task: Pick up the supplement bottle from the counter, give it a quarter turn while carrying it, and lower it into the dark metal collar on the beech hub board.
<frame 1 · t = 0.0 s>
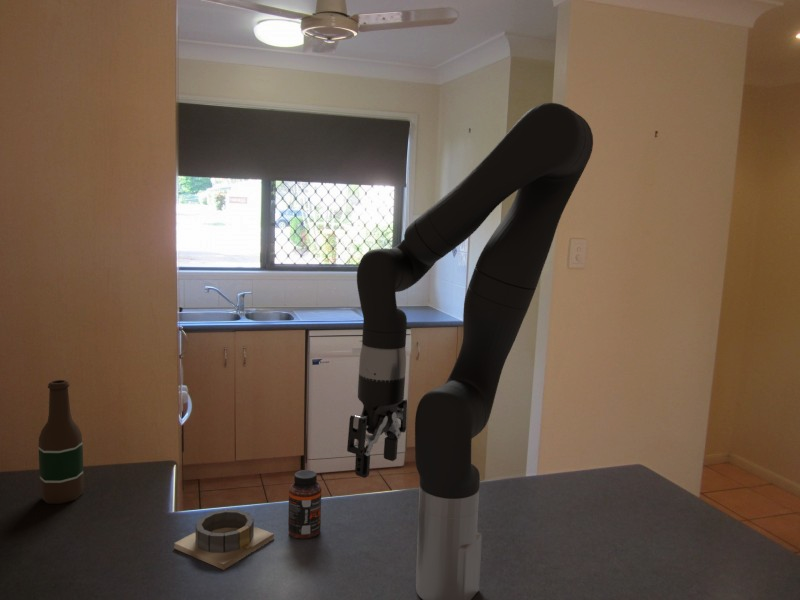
hand: (376, 467, 101), 17 cm above the worktop, tool pointing down, fingers open, 8 cm apart
supplement bottle: (304, 533, 113), on the worktop
hub: (225, 543, 108), on the worktop
beer bottle: (62, 497, 125), on the worktop
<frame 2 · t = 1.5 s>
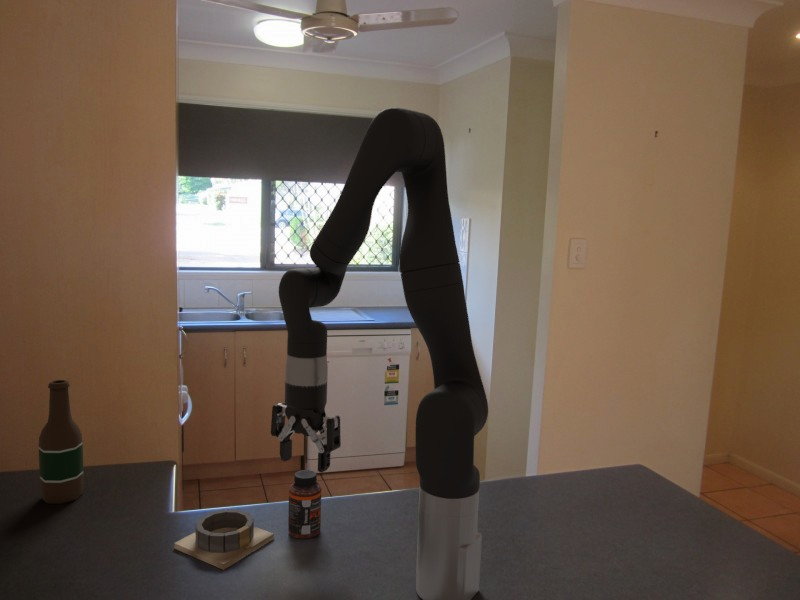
hand: (304, 465, 112), 13 cm above the worktop, tool pointing down, fingers open, 8 cm apart
nothing on the worktop moved.
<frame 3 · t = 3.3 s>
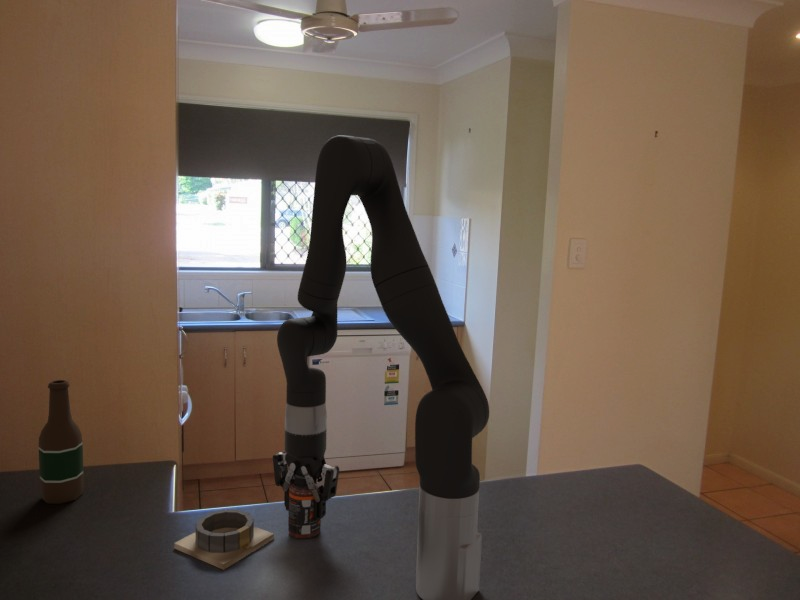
hand: (304, 513, 113), 4 cm above the worktop, tool pointing down, fingers closed on supplement bottle, 6 cm apart
supplement bottle: (304, 533, 113), on the worktop, touching gripper
everything else where it was.
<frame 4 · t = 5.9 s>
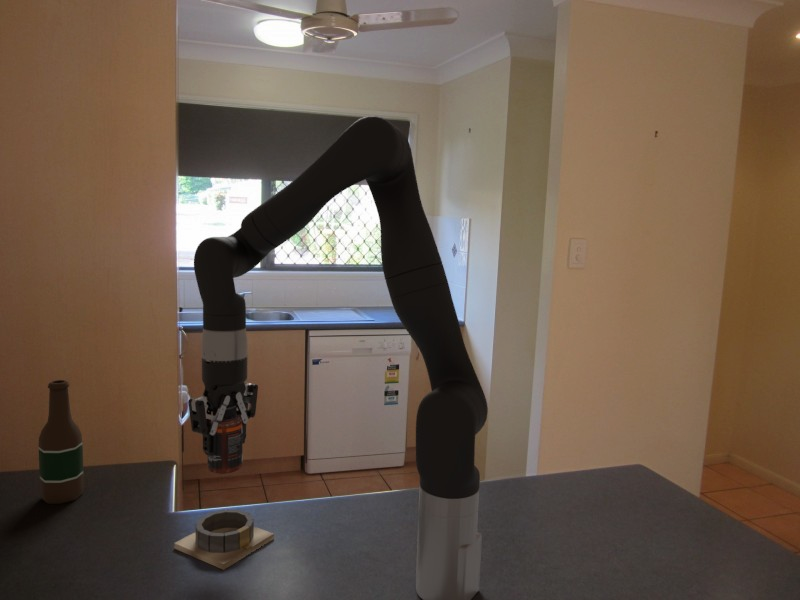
hand: (225, 448, 106), 17 cm above the worktop, tool pointing down, fingers closed on supplement bottle, 6 cm apart
supplement bottle: (225, 469, 107), point 14 cm above the worktop, touching gripper
everything else where it was.
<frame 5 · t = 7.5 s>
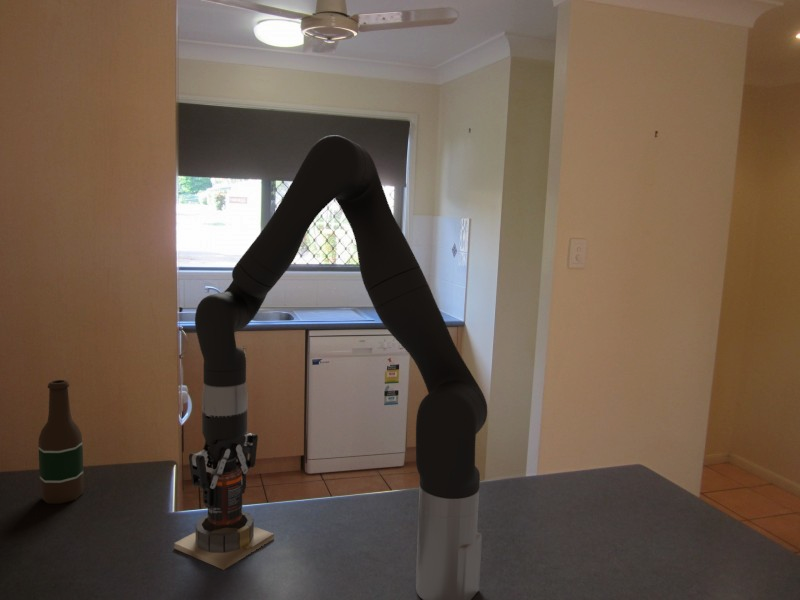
hand: (225, 499, 108), 8 cm above the worktop, tool pointing down, fingers closed on supplement bottle, 6 cm apart
supplement bottle: (225, 520, 108), point 4 cm above the worktop, touching gripper
everything else where it was.
when the fingers open (6 cm above the worktop, at t = 9.0 s): supplement bottle stays where it is, resting on hub.
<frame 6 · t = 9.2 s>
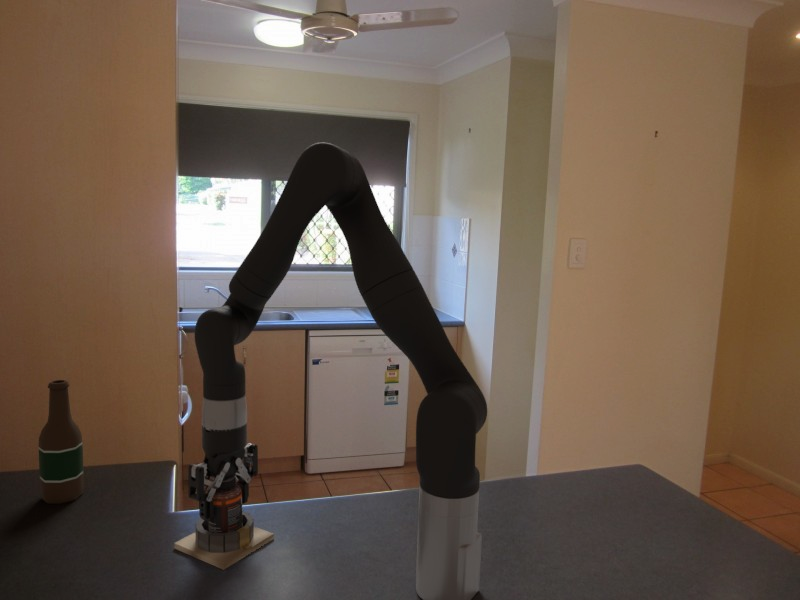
hand: (224, 510, 108), 6 cm above the worktop, tool pointing down, fingers open, 7 cm apart
supplement bottle: (225, 539, 108), point 1 cm above the worktop, touching hub
everything else where it was.
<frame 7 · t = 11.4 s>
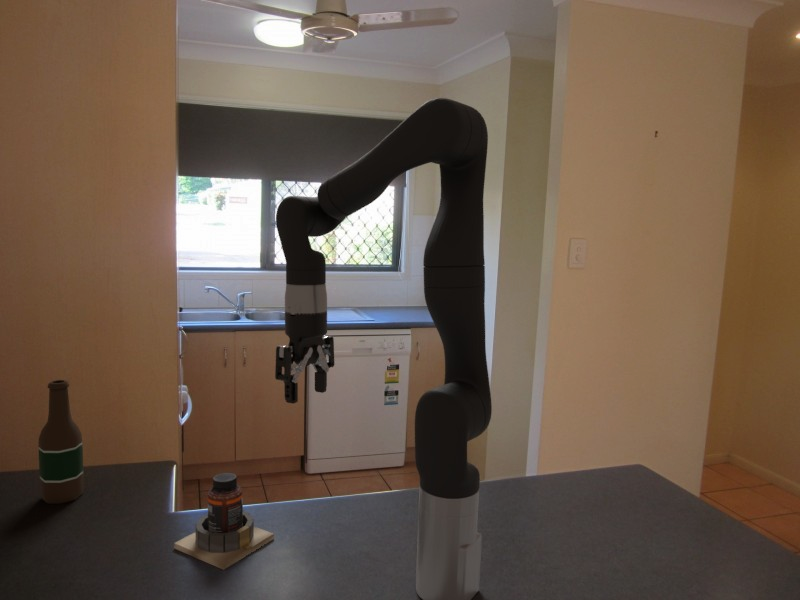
hand: (306, 397, 112), 25 cm above the worktop, tool pointing down, fingers open, 8 cm apart
nothing on the worktop moved.
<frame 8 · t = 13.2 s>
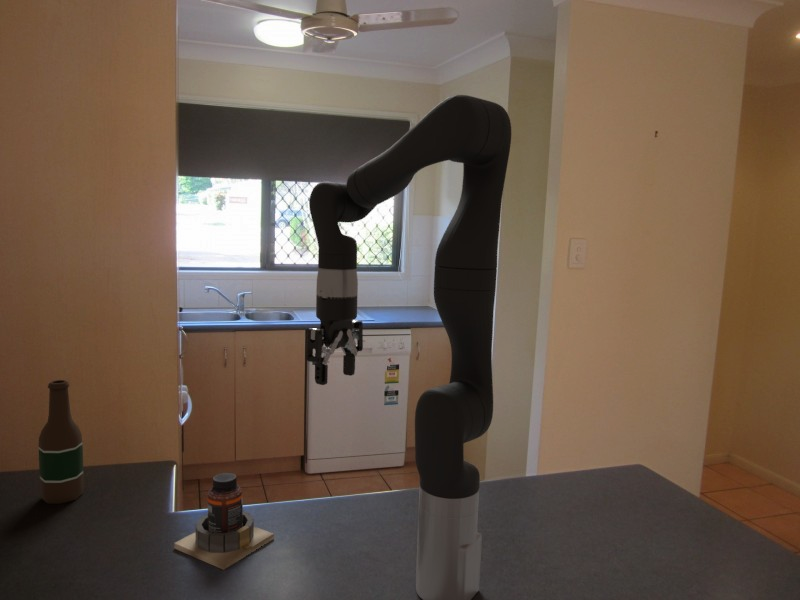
hand: (335, 379, 114), 28 cm above the worktop, tool pointing down, fingers open, 8 cm apart
nothing on the worktop moved.
at the end: supplement bottle 0.1 cm from the hub (horizontally); supplement bottle tilted 0°; the gripper is holding nothing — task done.
